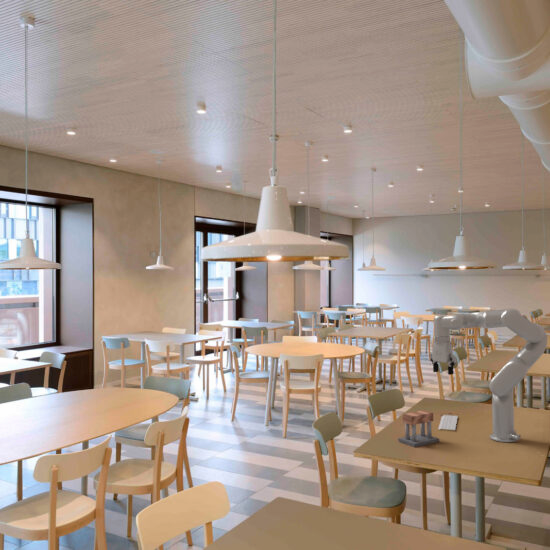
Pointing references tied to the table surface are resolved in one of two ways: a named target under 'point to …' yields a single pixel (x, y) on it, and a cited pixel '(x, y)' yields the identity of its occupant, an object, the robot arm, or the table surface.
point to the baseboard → (448, 422)
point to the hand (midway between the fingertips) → (443, 373)
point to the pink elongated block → (417, 417)
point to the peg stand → (418, 436)
